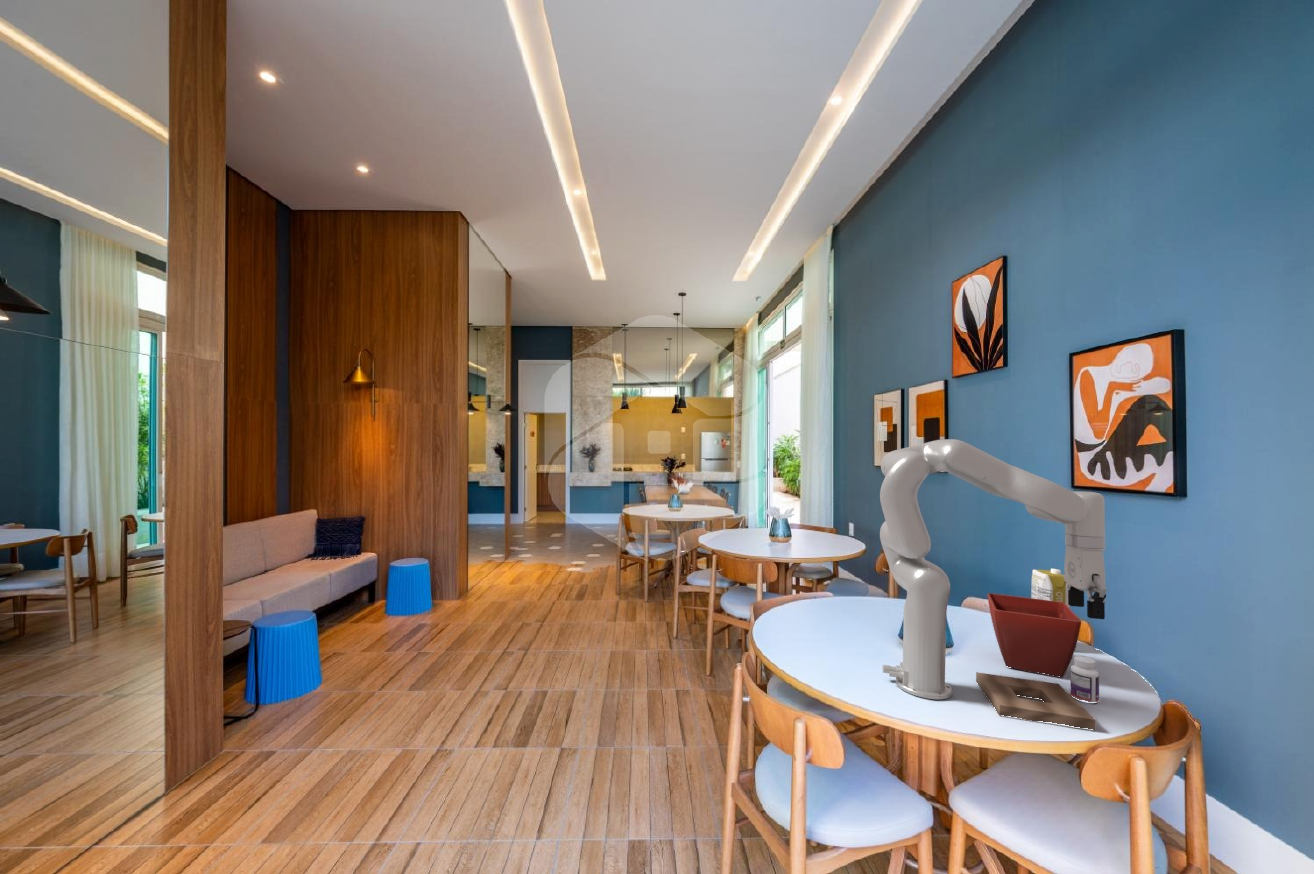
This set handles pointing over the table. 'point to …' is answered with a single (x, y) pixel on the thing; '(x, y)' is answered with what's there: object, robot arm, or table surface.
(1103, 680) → the table surface
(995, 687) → the socket block
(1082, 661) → the pill bottle
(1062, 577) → the juice carton
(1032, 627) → the plant pot
